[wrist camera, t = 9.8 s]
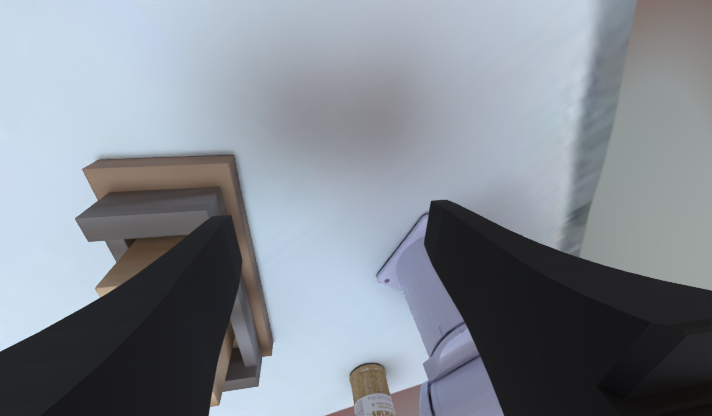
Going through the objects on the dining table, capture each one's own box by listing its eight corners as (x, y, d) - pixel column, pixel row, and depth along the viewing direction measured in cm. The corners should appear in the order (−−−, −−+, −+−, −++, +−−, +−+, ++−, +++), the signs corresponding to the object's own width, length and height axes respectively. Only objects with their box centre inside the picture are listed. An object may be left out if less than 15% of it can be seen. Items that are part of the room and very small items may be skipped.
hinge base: (98, 159, 17) (40, 192, 14) (233, 154, 19) (215, 184, 15) (189, 352, 28) (171, 402, 24) (273, 341, 29) (268, 387, 25)
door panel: (152, 220, 18) (94, 288, 13) (201, 217, 19) (163, 281, 14) (203, 343, 25) (178, 420, 20) (238, 338, 25) (222, 413, 20)
